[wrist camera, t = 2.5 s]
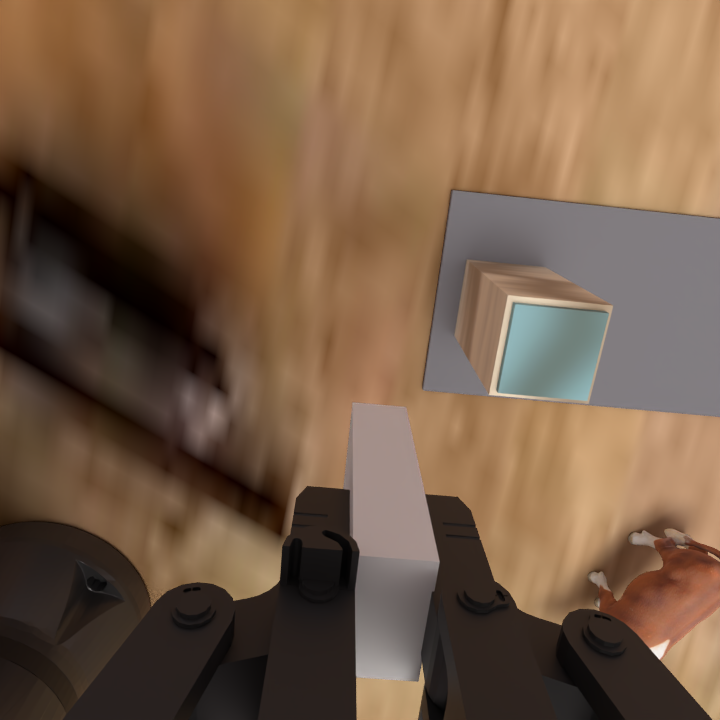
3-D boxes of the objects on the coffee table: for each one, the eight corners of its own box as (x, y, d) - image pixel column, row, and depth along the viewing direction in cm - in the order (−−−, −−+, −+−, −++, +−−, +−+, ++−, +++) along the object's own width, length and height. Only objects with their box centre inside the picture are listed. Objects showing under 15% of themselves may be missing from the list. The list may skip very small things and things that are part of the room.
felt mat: (422, 388, 40) (423, 390, 39) (451, 190, 35) (452, 190, 35) (734, 416, 41) (737, 418, 40) (799, 227, 36) (803, 227, 36)
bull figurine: (531, 604, 46) (568, 695, 38) (671, 497, 43) (742, 572, 35) (566, 634, 47) (608, 728, 39) (705, 532, 44) (781, 612, 36)
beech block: (454, 335, 38) (490, 398, 28) (466, 259, 36) (510, 297, 26) (529, 342, 38) (591, 407, 28) (545, 267, 37) (617, 307, 27)
